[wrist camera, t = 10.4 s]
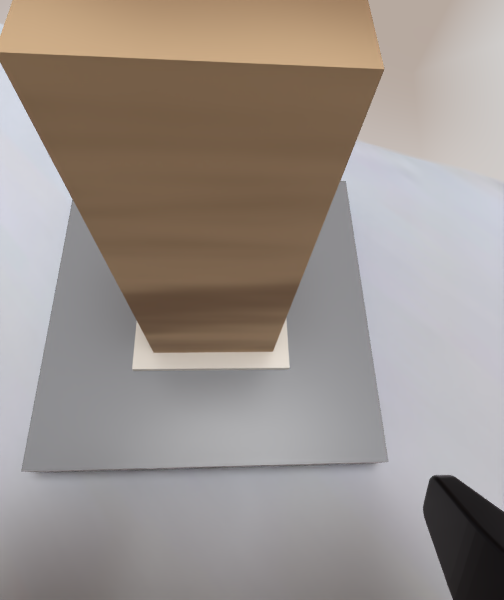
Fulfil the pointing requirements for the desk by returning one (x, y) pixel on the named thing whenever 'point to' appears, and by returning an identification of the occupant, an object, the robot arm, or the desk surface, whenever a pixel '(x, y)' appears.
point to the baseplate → (206, 376)
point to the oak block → (198, 145)
